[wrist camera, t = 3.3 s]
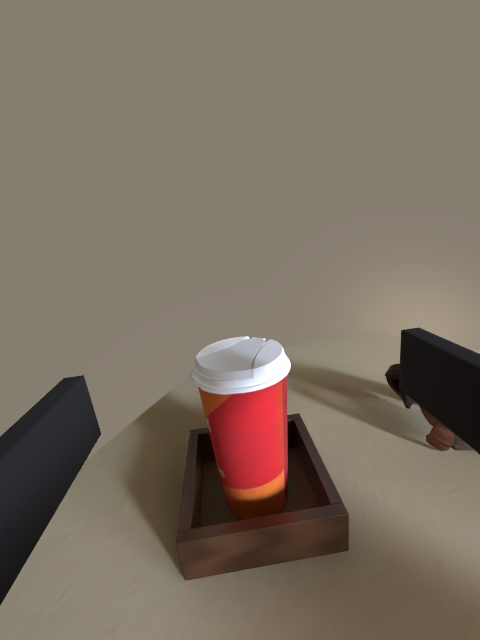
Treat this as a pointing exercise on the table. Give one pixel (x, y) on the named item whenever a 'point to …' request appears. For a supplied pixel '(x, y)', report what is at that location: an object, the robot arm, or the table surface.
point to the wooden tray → (262, 532)
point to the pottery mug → (439, 433)
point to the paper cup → (247, 421)
